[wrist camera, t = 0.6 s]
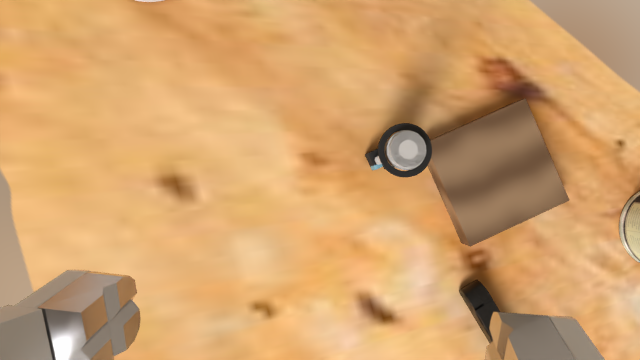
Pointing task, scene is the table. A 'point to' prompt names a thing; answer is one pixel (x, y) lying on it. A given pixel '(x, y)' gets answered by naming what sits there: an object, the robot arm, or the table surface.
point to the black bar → (480, 305)
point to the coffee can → (631, 227)
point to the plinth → (495, 173)
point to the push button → (402, 151)
